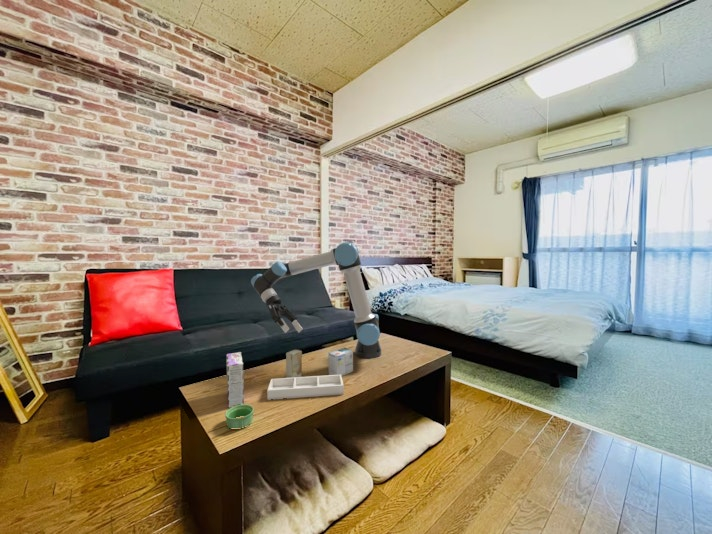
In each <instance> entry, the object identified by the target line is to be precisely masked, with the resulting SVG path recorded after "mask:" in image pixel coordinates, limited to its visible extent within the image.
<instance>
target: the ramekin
mask: <svg viewBox="0 0 712 534" xmlns="http://www.w3.org/2000/svg"><path fill="white" fill-rule="evenodd" d="M254 412H255V411H254V406H252V405H251V404H246V403H244V404H242V405H237V406H234V407H229V409H227V410H226V412H225V414H224V415H225V420H226V427H227V426H228V427H229V428H242V427H245V426H247V425H249V424H250V423H251V422H252V423H253V418H254V417H253V416H254ZM240 416H244V417H241V418H236V417H240ZM252 423H251V424H252ZM251 424H250V425H251ZM250 425H249V426H250ZM228 427H227V428H228ZM229 428H228V429H229Z"/></svg>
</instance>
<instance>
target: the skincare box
mask: <svg viewBox="0 0 712 534" xmlns="http://www.w3.org/2000/svg"><path fill="white" fill-rule="evenodd" d="M285 356H286V358H285V359H286V360H285V362H286V364H285V367H286V368H285V370H286V371H285V372H286V373H285V376H286V377H285V378H293V377H303V376H302V375H303V374H302V372H303V369H302V367H303V365H302V359H303V358H302V357H303V351H302V350H300V349H293V350H289V351H288V352H286V353H285Z"/></svg>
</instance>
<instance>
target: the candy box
mask: <svg viewBox="0 0 712 534" xmlns="http://www.w3.org/2000/svg"><path fill="white" fill-rule="evenodd" d="M226 380H227V383H226V385H227V408H228V407H229V408H232V407H231V406H236V405H242V404H245V402H244V400H245V399H244V397H245V396H244V395H245V394H244V390H245V389H244V388H245V387H244V362H243V356H242V352H241V351H238V352H232V353H227V354H226Z"/></svg>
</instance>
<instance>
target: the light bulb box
mask: <svg viewBox="0 0 712 534" xmlns="http://www.w3.org/2000/svg"><path fill="white" fill-rule="evenodd" d="M327 355H328V357H327V358H328V375H341V376H342V377H343V376H345V375H348V374H350V373H352V372H354V350H353V349H350V348H347V347H341V348H337V349H336V350H332V351H329V352H328V354H327Z"/></svg>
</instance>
